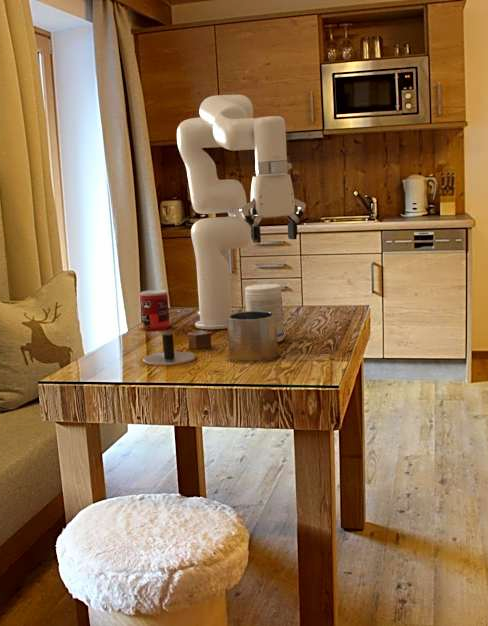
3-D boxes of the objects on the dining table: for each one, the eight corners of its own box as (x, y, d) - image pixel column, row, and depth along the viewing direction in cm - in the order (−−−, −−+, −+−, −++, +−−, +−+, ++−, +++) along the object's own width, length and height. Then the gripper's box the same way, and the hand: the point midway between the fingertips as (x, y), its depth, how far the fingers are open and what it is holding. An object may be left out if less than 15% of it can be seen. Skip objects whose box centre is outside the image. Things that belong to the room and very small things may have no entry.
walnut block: (188, 349, 215) (187, 332, 214) (203, 346, 217) (202, 330, 216) (196, 352, 211) (195, 335, 210) (211, 349, 213) (210, 333, 212)
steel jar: (221, 357, 204) (218, 315, 202) (261, 350, 209) (259, 309, 207) (244, 366, 194) (242, 322, 192) (286, 358, 199) (284, 315, 197)
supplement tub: (291, 340, 217) (289, 285, 215) (263, 346, 212) (260, 290, 210) (268, 335, 226) (265, 282, 223) (240, 341, 220) (237, 287, 218)
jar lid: (135, 361, 205) (133, 333, 204) (181, 353, 211) (179, 326, 210) (156, 371, 194) (153, 342, 193) (204, 362, 200) (202, 334, 198)
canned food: (142, 326, 250) (139, 290, 248) (169, 324, 250) (166, 288, 248) (143, 331, 242) (140, 294, 240) (170, 329, 243) (167, 292, 241)
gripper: (296, 167, 204) (299, 236, 207) (232, 172, 198) (235, 243, 201) (311, 167, 197) (313, 238, 201) (245, 171, 191) (248, 245, 195)
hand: (274, 240), depth 201 cm, fingers open, 9 cm apart
